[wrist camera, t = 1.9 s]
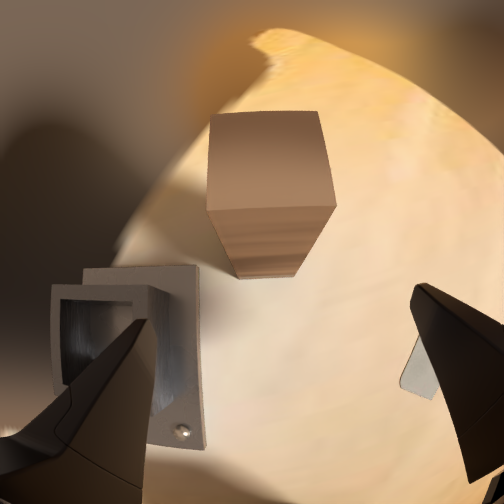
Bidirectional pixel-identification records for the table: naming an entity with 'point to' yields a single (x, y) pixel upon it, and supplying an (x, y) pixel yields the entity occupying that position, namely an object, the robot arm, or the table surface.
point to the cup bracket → (118, 319)
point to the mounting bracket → (419, 374)
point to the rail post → (268, 189)
